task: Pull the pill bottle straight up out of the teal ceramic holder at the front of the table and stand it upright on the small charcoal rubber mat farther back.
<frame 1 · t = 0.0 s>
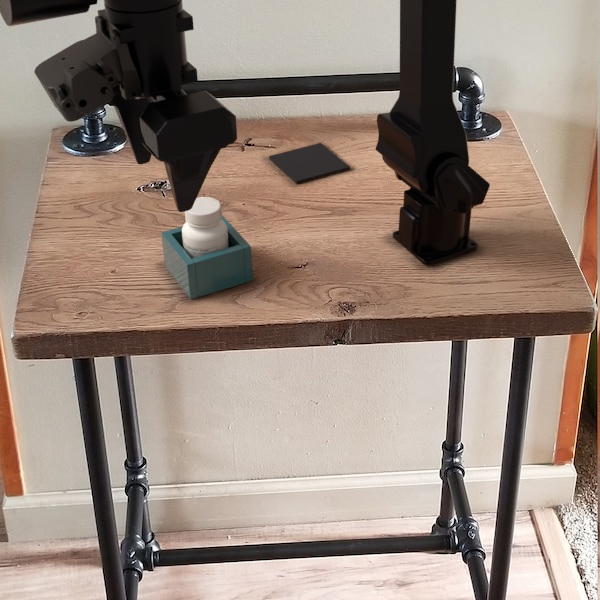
hand: (163, 185, 82), 15 cm above the table, tool pointing down, fingers open, 9 cm apart
mat: (308, 164, 115), on the table
holder: (208, 273, 97), on the table
pill bottle: (208, 274, 97), resting in holder
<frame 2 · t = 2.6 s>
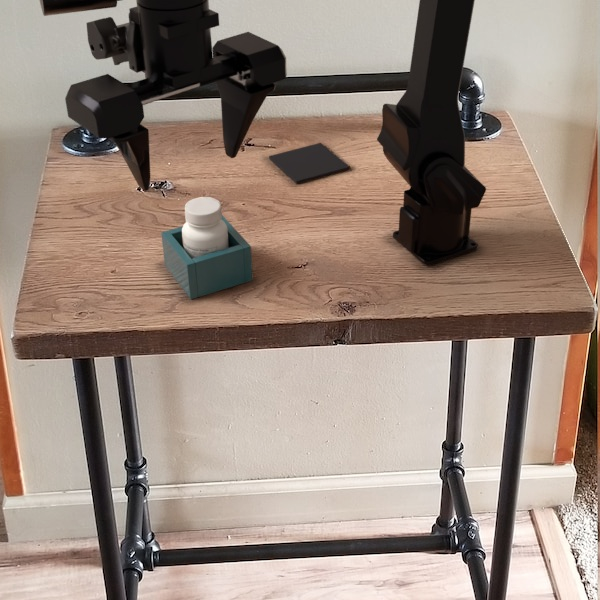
hand: (188, 172, 87), 13 cm above the table, tool pointing down, fingers open, 9 cm apart
nothing on the table moved.
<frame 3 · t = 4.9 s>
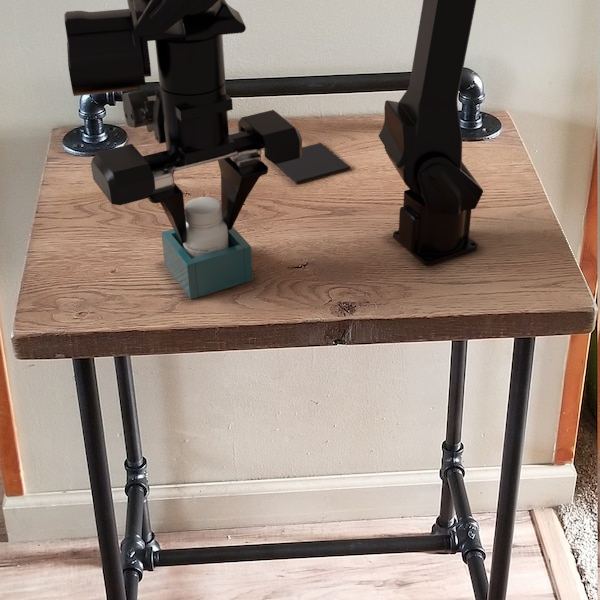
hand: (205, 234, 95), 5 cm above the table, tool pointing down, fingers closed on pill bottle, 4 cm apart
pill bottle: (208, 274, 97), resting in holder, touching gripper
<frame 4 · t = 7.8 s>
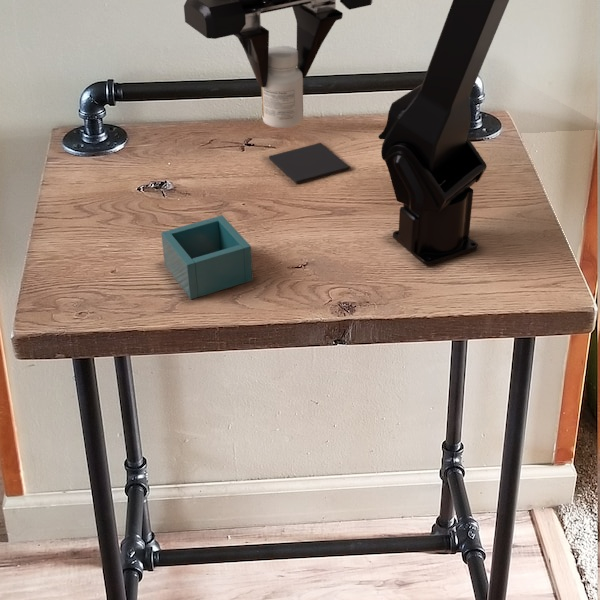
hand: (282, 80, 103), 13 cm above the table, tool pointing down, fingers closed on pill bottle, 4 cm apart
pill bottle: (282, 122, 106), point 8 cm above the table, touching gripper
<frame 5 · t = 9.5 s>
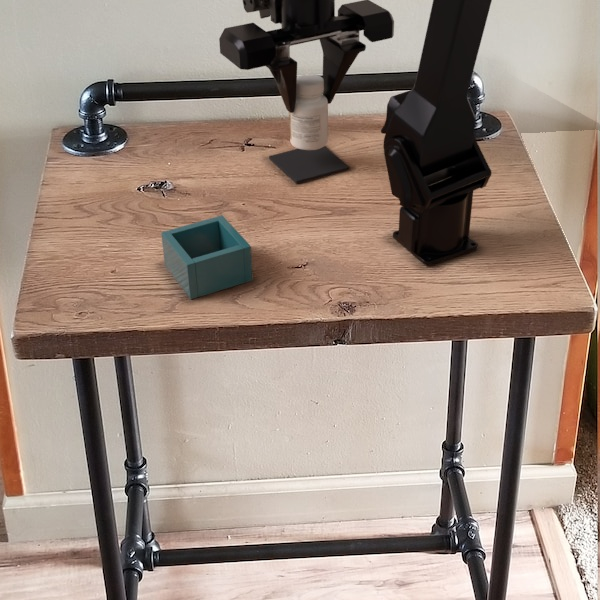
hand: (309, 106, 111), 7 cm above the table, tool pointing down, fingers closed on pill bottle, 4 cm apart
pill bottle: (309, 144, 114), point 3 cm above the table, touching gripper
when the fingers open (5 cm above the table, at t = 10.6 s): pill bottle stays where it is, resting on mat.
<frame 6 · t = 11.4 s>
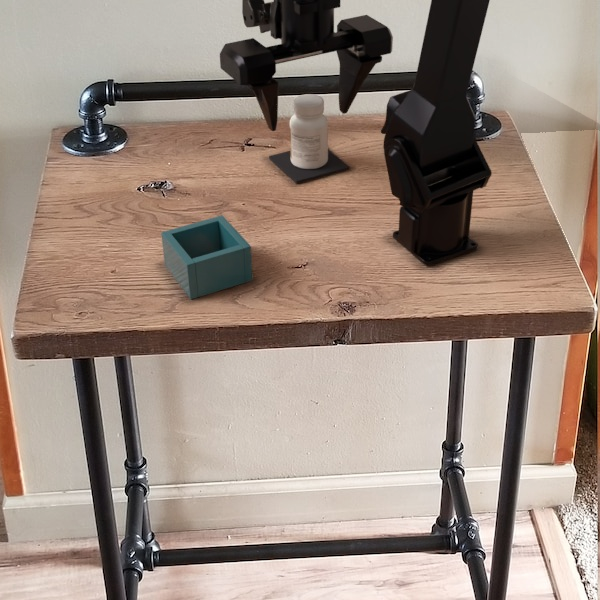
hand: (308, 120, 112), 6 cm above the table, tool pointing down, fingers open, 9 cm apart
pill bottle: (309, 162, 115), resting on mat
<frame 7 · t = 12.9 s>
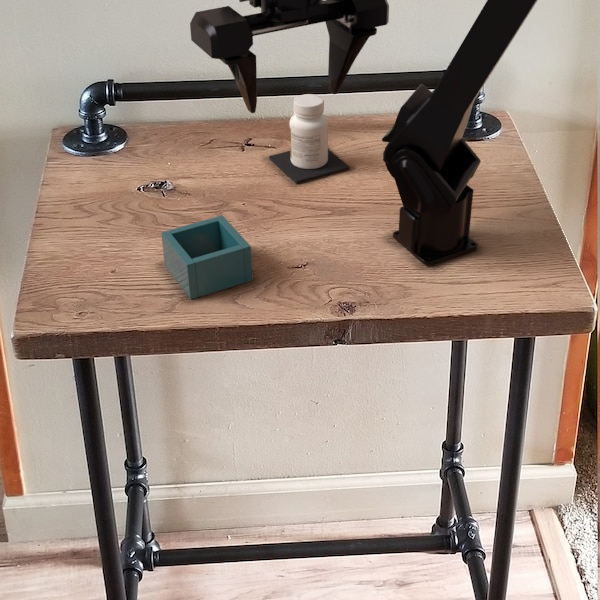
hand: (293, 102, 99), 13 cm above the table, tool pointing down, fingers open, 9 cm apart
nothing on the table moved.
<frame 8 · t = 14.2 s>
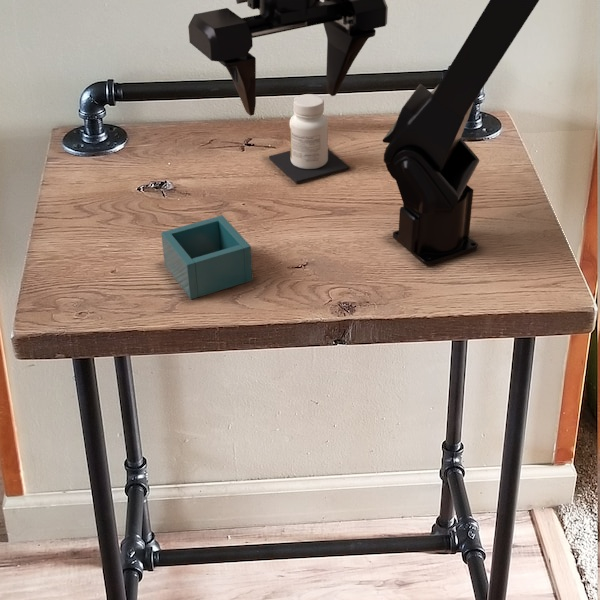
hand: (291, 104, 98), 13 cm above the table, tool pointing down, fingers open, 9 cm apart
nothing on the table moved.
at the end: pill bottle 0.1 cm off-centre on the mat, point 0.2 cm above the mat's base; pill bottle tilted 0°; the gripper is holding nothing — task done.
